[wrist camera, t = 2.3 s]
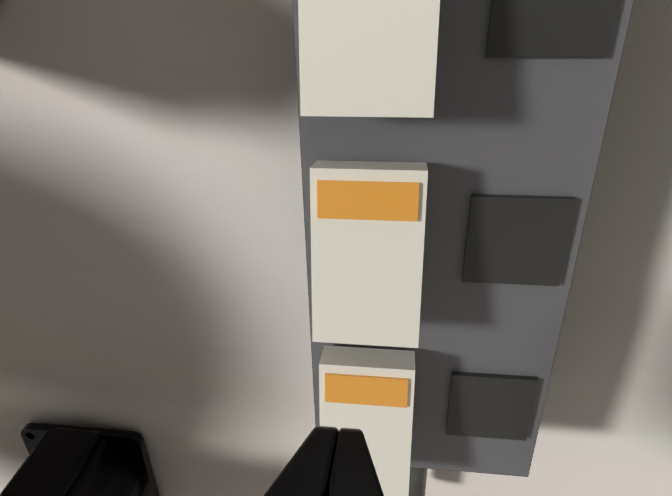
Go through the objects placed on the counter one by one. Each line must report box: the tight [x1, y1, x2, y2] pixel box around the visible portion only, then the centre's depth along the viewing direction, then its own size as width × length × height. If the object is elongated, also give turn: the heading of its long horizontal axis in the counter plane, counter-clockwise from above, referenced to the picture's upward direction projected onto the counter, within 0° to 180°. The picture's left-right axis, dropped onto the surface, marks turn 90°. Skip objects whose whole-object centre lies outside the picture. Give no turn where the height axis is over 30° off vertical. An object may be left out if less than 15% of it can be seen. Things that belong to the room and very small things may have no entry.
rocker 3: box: [319, 345, 415, 496], centre depth 18 cm, size 5×3×1 cm, turn 1°
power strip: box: [292, 0, 634, 496], centre depth 19 cm, size 25×8×4 cm, turn 1°
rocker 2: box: [310, 160, 428, 348], centre depth 15 cm, size 5×3×1 cm, turn 1°
